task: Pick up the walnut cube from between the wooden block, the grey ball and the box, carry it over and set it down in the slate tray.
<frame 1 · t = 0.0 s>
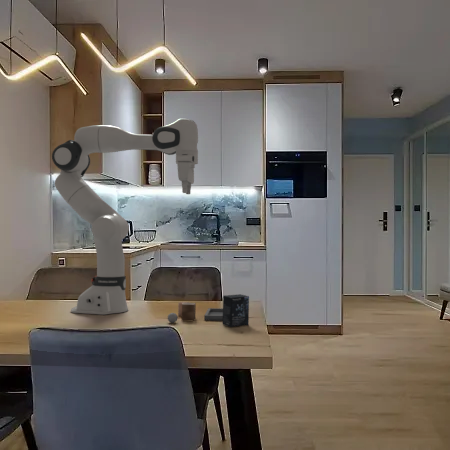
hand: (186, 193, 209), 48 cm above the table, fingers open, 8 cm apart
walnut cube: (188, 319, 195), on the table
box: (235, 325, 186), on the table
grey ball: (172, 322, 188), on the table
wooden block: (183, 315, 203), on the table
slate tray: (224, 316, 201), on the table
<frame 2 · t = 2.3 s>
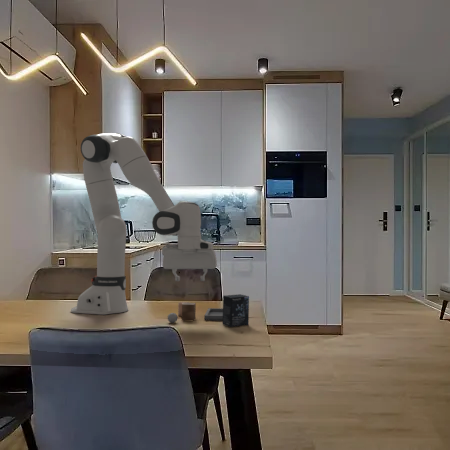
hand: (190, 280, 195), 15 cm above the table, fingers open, 8 cm apart
nothing on the table moved.
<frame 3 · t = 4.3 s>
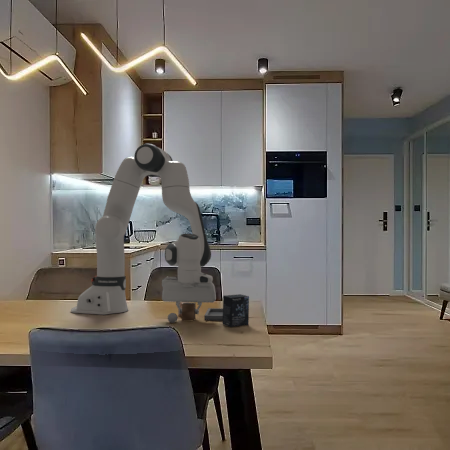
hand: (188, 313, 195), 2 cm above the table, fingers closed on walnut cube, 4 cm apart
walnut cube: (188, 319, 195), on the table, touching gripper
everything else where it was.
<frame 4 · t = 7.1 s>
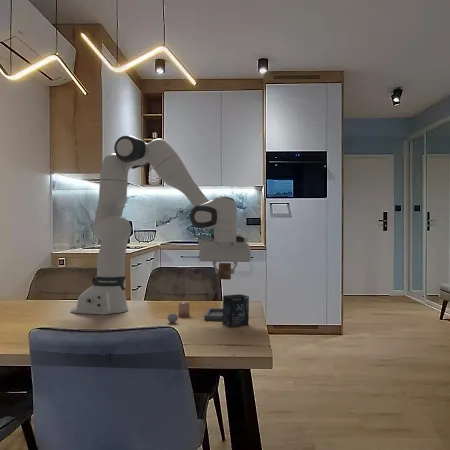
hand: (224, 273, 201), 17 cm above the table, fingers closed on walnut cube, 4 cm apart
walnut cube: (224, 278, 201), point 15 cm above the table, touching gripper
everything else where it was.
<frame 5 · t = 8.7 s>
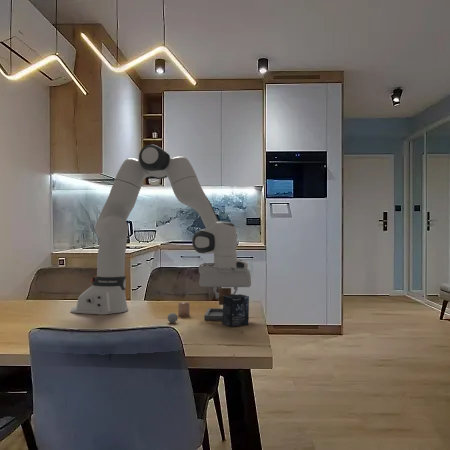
hand: (225, 298, 201), 7 cm above the table, fingers closed on walnut cube, 4 cm apart
walnut cube: (225, 303, 201), point 5 cm above the table, touching gripper
everything else where it was.
when the fingers open (4 cm above the table, at t = 10.2 s): walnut cube drops 1 cm, resting on slate tray.
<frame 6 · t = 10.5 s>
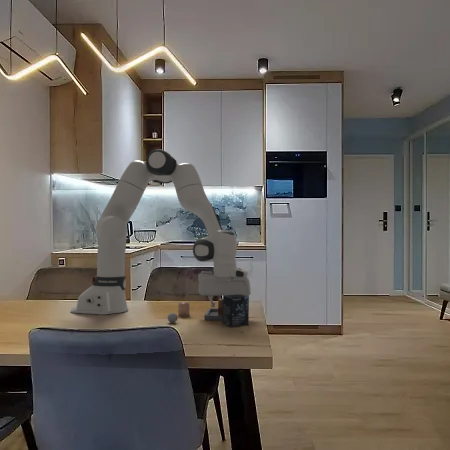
hand: (224, 307, 201), 4 cm above the table, fingers open, 7 cm apart
walnut cube: (224, 315, 201), point 1 cm above the table, touching slate tray
everything else where it was.
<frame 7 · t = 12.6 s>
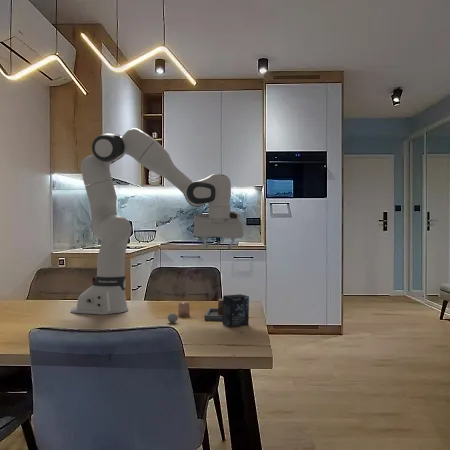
hand: (218, 248, 209), 26 cm above the table, fingers open, 8 cm apart
nothing on the table moved.
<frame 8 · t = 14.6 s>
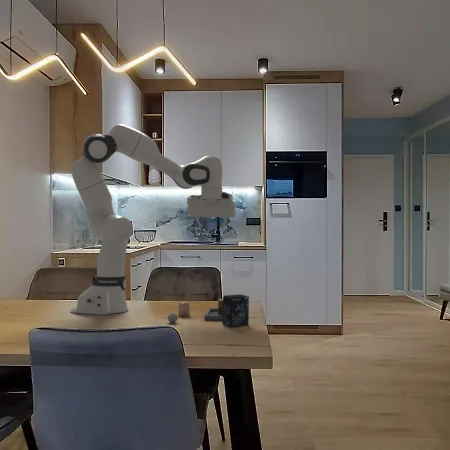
hand: (211, 228, 218), 34 cm above the table, fingers open, 8 cm apart
nothing on the table moved.
at the end: walnut cube inside the target area on the slate tray (0.1 cm from its centre), point 0.6 cm above the slate tray's base; the gripper is holding nothing; box moved 0.3 cm from its start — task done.
